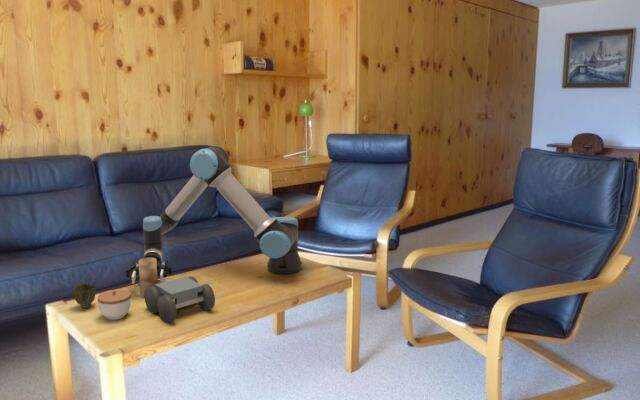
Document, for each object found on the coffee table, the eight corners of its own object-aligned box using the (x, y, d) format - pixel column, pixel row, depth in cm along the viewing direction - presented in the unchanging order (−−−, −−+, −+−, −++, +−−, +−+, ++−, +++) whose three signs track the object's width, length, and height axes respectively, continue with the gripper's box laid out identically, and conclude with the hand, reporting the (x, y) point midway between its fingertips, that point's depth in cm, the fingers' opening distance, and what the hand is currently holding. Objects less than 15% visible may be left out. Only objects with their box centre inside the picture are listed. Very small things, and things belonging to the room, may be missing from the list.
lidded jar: (95, 314, 183) (93, 289, 181) (126, 307, 189) (124, 282, 187) (104, 325, 174) (102, 299, 172) (136, 317, 181) (134, 292, 179)
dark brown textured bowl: (101, 305, 191) (100, 284, 189) (87, 313, 184) (85, 291, 182) (84, 302, 193) (83, 281, 191) (69, 310, 186) (67, 288, 184)
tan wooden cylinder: (153, 290, 205) (151, 256, 202) (161, 295, 200) (159, 260, 197) (137, 294, 200) (135, 259, 197) (145, 299, 196) (143, 264, 193)
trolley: (188, 296, 200) (187, 272, 198) (215, 311, 186) (214, 286, 184) (145, 308, 188) (143, 283, 186) (170, 326, 175) (169, 299, 173)
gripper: (180, 267, 219) (178, 286, 198) (124, 270, 214) (116, 291, 193) (179, 250, 217) (177, 267, 196) (123, 252, 212) (114, 271, 191)
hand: (147, 279), depth 194 cm, fingers open, 9 cm apart
